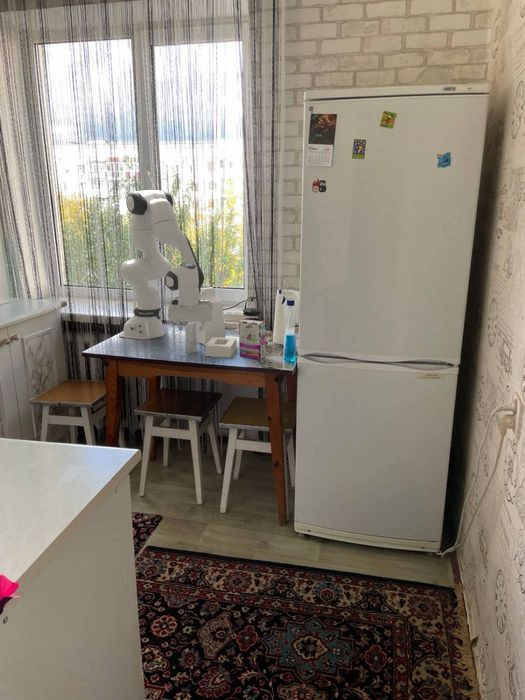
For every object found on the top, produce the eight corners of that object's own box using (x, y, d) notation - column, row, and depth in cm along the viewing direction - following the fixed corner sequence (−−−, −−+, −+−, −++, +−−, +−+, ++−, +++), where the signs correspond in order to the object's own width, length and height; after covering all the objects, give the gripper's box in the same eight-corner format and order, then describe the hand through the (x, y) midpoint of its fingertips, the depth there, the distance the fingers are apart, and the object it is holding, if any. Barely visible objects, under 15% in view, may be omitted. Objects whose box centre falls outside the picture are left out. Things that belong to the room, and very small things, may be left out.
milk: (205, 345, 250) (203, 291, 242) (192, 339, 258) (190, 287, 251) (225, 340, 257) (224, 288, 249) (212, 335, 266) (211, 285, 258)
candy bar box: (266, 357, 231) (266, 321, 227) (260, 360, 227) (260, 324, 222) (244, 353, 237) (244, 318, 232) (238, 356, 233) (238, 320, 228)
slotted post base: (205, 356, 233) (205, 345, 231) (212, 347, 246) (212, 337, 244) (231, 357, 231) (231, 346, 230) (236, 348, 245) (236, 338, 243)
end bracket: (186, 353, 238) (185, 325, 234) (189, 349, 243) (188, 322, 239) (193, 353, 237) (192, 325, 233) (196, 349, 243) (195, 322, 239)
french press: (248, 340, 257) (247, 294, 251) (265, 342, 254) (265, 295, 247) (237, 346, 247) (236, 298, 240) (255, 349, 244) (255, 300, 237)
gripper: (213, 299, 235) (215, 329, 239) (169, 298, 237) (171, 328, 241) (210, 301, 229) (212, 332, 233) (165, 301, 231) (167, 331, 235)
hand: (191, 330), depth 237 cm, fingers open, 8 cm apart
